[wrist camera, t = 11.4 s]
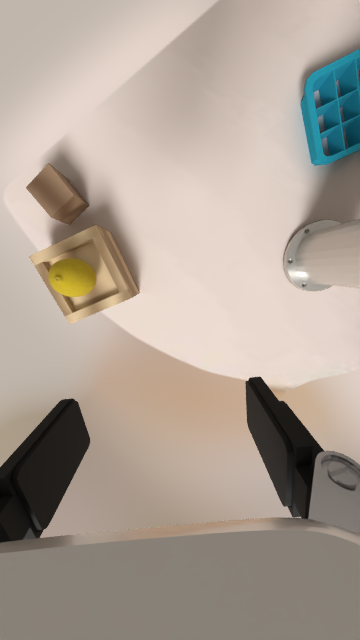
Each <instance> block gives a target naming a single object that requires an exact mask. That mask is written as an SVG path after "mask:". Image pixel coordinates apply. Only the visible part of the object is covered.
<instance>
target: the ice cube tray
mask: <svg viewBox="0 0 360 640" xmlns="http://www.w3.org/2000/svg"><path fill="white" fill-rule="evenodd" d="M358 70H359V75H360V49H358V50H356V51H354V52H352V53H350V54H348V55H347V56H345V57H343V58H341V59H339V60H337V61H335V62H333V63H331V64H329V65H327V66H325V67H323V68H321V69H319V70H317V71H315V72H313V73H312V74H311V76H310V77H309V78H308V79H307V80H306V84H305V88H304V91H305V95H304V97H303V99H302V102H301V109H302V114H303V120H304V125H305V131H306V136H307V141H308V147H309V152H310V158H311V163H312V164H314V165H327V164H329V163H331V162H334V161H336V160H338V159H340V158H342V157H345V156H347V155H349V154H351V153H353V152H356V151H358V150H360V88H359V79H358ZM337 80H339V85H340V92H341V97H340V98H338V93H337V86H336V81H337ZM317 90H319V92H320V98H321V105H322V106H321V107H319V108H317V109H316V106H315V100H314V94H313V92H315V91H317ZM340 106H342V107H343V114H344V121H345V122H343V123H342V121H341V114H340ZM321 115H323V117H324V123H325V129H326V131H324V132H322V133H320V130H319V124H318V118H317V117H319V116H321ZM343 129H346V136H347V143H348V148H347V149H345V143H344V136H343ZM326 137H327V142H328V148H329V154H330V156H326V155H325V154H323V148H322V142H321V139H324V138H326Z"/></svg>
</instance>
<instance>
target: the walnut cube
mask: <svg viewBox="0 0 360 640" xmlns="http://www.w3.org/2000/svg"><path fill="white" fill-rule="evenodd" d="M26 188H27V190H28V191H29V192H30V193H31V194H32V195H33V197H34V198H35V199H36V200H37V201H38V202H39V204H40V205H41V206H42V207H43V208H44V209H45V211H46V212H47V213H48V214H49V215H50V216H51V217H52V218H54V219H57V220H59V221H62V222H64V223H67V224H69V225H70V224H71V223H72V222H73V221H74V220H75V219H76V218H77V217H78V216H79V215H80V214H81V213H82V212H83V211H84V210H85V209H86V208H87V207H88V206H89V205H88V204H87V202H86V201H85V200H84V199H83V197H82V196H81V195H80V194H79V192H78V191H77V190H76V189H75V187H74V186H73V185H72V184H71V182H70V181H69V180H68V179H67V178H66V177H64V176H63V175H62V174H61V173H60V172H58V171H57V170H56V169H55V168H53V167H52V166H51V165H50V164H48V165H47V166H46V167H45V168H44V169H43V170H42V171H41V172H40V173H39V174H38V175H37V176H36V177H35V178H34V179H33V181H32V182H31V183H30V184H29V185H28V186H27V187H26Z"/></svg>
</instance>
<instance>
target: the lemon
mask: <svg viewBox="0 0 360 640" xmlns="http://www.w3.org/2000/svg"><path fill="white" fill-rule="evenodd" d="M48 279H49V282H50V284H51V286H52V287H53V289H54V290H56V291H57V292H58V293H60V294H62V295H65V296H69V297H80V296H84V295H86V294H88V293H90V292H91V291H92V290H93V289H94V287H95V285H96V274H95V272H94V270H93V268H92V267H91V266H90V265H89V264H87V263H86V262H84V261H82V260H80V259H74V258H67V259H62V260H59V261H57V262H56V263H54V264H53V265H52V266H51V268H50V269H49V273H48Z"/></svg>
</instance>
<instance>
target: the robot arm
mask: <svg viewBox="0 0 360 640" xmlns="http://www.w3.org/2000/svg"><path fill="white" fill-rule="evenodd" d="M304 231H305V232H304ZM288 260H289V262H288ZM284 271H285V274H286V276H287V278H288V280H289V281H290V282H291V283H292V284H293V285H294V286H295V287H297V288H299V289H302V290H306V291H321V290H325V289H328V288H329V287H331V286H333V285H334V286H343V287H353V288H360V219H357V220H354V221H350V222H347V223H343V224H342V223H340V222H338V221H335V220H320V221H316V222H313V223H311V224H309V225H307V226H305V227H303V228H302V229H301V230H299V231H298V232H297V233H296V234H295V235H294V236H293V238H292V239H291V241H290V242H289V244H288V246H287V248H286V251H285V255H284ZM246 404H247V423H248V427H249V430H250V432H251V434H252V437H253V439H254V441H255V444H256V446H257V448H258V450H259V453H260V455H261V457H262V459H263V462H264V464H265V466H266V468H267V471H268V473H269V475H270V478H271V480H272V482H273V484H274V487H275V489H276V491H277V494H278V496H279V498H280V500H281V502H282V504H283V506H288V508H289V510H290V512H291V514H292V517H301V518H260V519H246V520H230V521H218V522H207V523H196V524H183V525H172V526H160V527H151V528H139V529H128V530H118V531H107V532H97V533H86V534H76V535H67V536H57V537H47V538H40V535H41V534H42V532H43V530H44V529H46V528H47V526H48V525H49V523H50V521H51V519H52V518H53V516H54V514H55V512H56V510H57V508H58V506H59V504H60V502H61V500H62V498H63V496H64V494H65V492H66V490H67V488H68V486H69V484H70V482H71V480H72V478H73V476H74V474H75V472H76V470H77V468H78V466H79V464H80V463H81V461H82V459H83V457H84V454H85V452H86V451H87V449H88V447H89V444H90V437H89V434H88V431H87V428H86V425H85V422H84V419H83V416H82V413H81V410H80V407H79V404H78V402H77V401H75V400H74V399H64V400H61V401H60V402H59V403H58V404H57V405H56V406H55V407H54V408H53V409H52V411H51V412H50V413H49V414H48V415H47V416H46V417H45V418H44V419H43V421H42V422H41V423H40V424H39V425H38V426H37V427H36V429H34V431H33V432H32V433H31V434H30V435H29V436H28V437H27V438H26V440H25V441H24V442H23V443H22V444H21V445H20V446H19V447H18V448H17V449H16V451H15V452H14V453H13V454H12V455H11V456H10V457H9V458H8V459H7V461H6V462H5V463H4V464H3V465H2V466H1V467H0V640H360V465H359V464H358V463H357V462H355V461H354V460H353V459H351V458H349V457H347V456H345V455H343V454H341V453H338V452H334V451H324V450H323V449H322V448H321V447H320V445H319V444H318V443H317V441H316V440H315V439H314V438H313V436H312V435H311V434H310V433H309V431H308V430H307V429H306V428H305V426H304V425H303V424H302V423H301V421H300V420H299V419H298V418H297V416H296V415H295V414H294V413H293V411H292V410H291V409H290V408H289V406H288V405H287V404H286V403H285V402H284V401H279V400H278V399H277V398H276V397H275V395H274V394H273V393H272V391H271V390H270V389H269V387H268V386H267V385H266V383H265V382H264V381H263V379H262V378H261V377H253V378H249V381H246Z"/></svg>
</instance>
